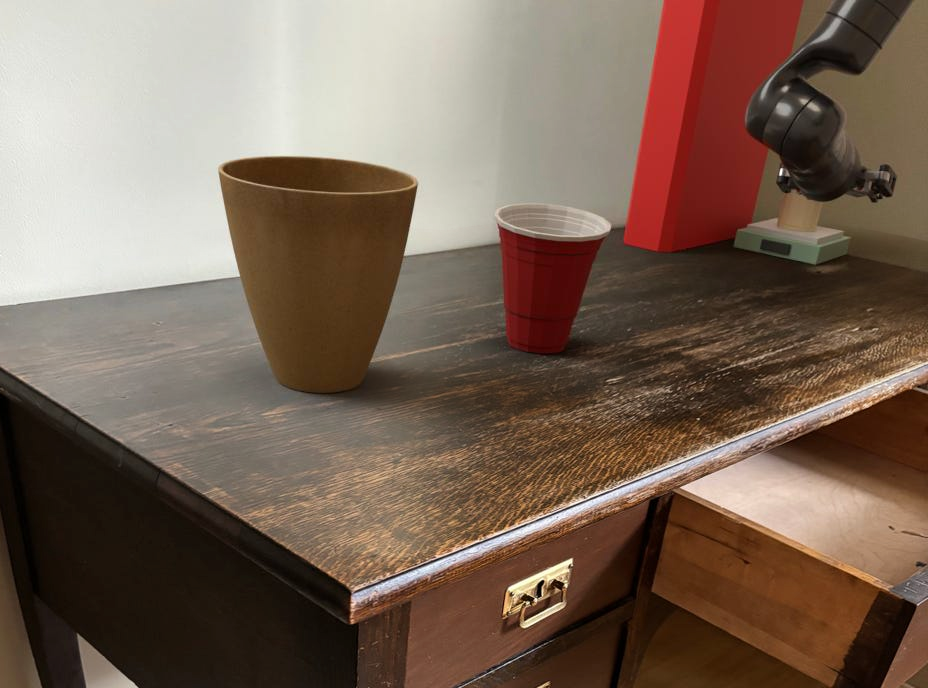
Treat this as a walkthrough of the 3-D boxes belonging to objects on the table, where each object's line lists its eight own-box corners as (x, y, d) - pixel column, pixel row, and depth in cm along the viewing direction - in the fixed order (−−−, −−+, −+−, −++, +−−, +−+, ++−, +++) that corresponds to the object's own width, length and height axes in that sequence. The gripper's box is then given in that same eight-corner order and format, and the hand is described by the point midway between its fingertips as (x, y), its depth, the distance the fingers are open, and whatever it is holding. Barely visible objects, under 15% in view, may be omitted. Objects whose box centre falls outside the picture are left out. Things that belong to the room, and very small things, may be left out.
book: (704, 225, 160) (752, -6, 143) (748, 234, 156) (804, -2, 139) (618, 242, 142) (661, -20, 124) (665, 253, 138) (717, -17, 120)
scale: (846, 254, 149) (853, 231, 147) (814, 265, 140) (821, 241, 138) (767, 238, 155) (772, 216, 153) (731, 247, 146) (737, 224, 144)
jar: (820, 229, 146) (840, 156, 141) (806, 233, 142) (826, 158, 137) (785, 222, 149) (803, 150, 143) (770, 226, 145) (788, 152, 140)
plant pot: (212, 355, 84) (201, 152, 75) (374, 349, 90) (381, 158, 81) (248, 416, 73) (241, 186, 64) (431, 405, 78) (447, 191, 69)
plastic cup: (484, 358, 90) (498, 220, 83) (478, 326, 99) (490, 199, 92) (599, 367, 90) (622, 231, 84) (583, 334, 99) (602, 208, 93)
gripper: (891, 128, 114) (907, 165, 128) (771, 127, 121) (798, 162, 135) (875, 196, 116) (891, 225, 130) (757, 191, 123) (785, 219, 137)
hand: (844, 193), depth 132 cm, fingers open, 8 cm apart
